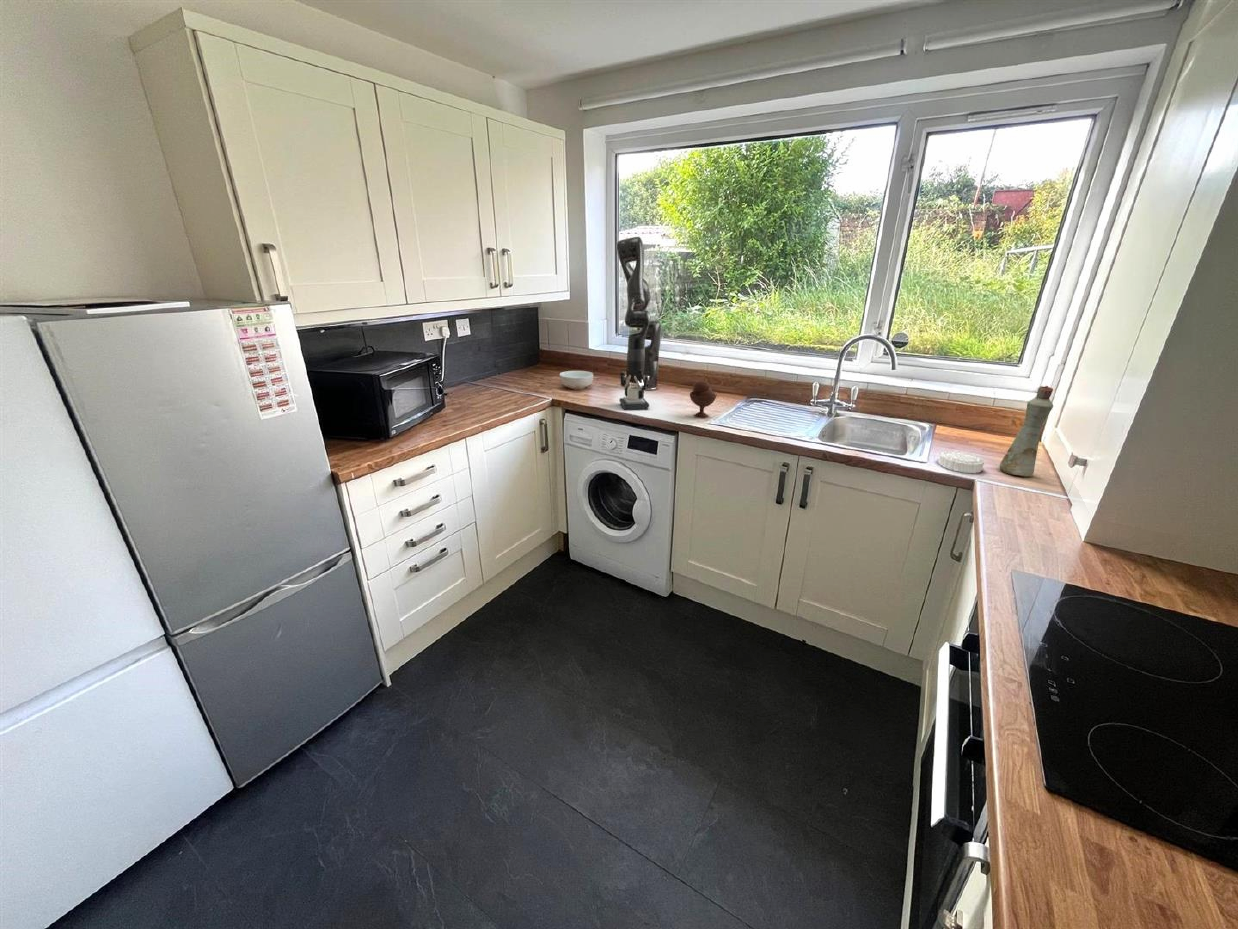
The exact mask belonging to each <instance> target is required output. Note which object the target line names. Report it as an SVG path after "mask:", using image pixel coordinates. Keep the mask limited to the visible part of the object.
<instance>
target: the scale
mask: <svg viewBox="0 0 1238 929" xmlns="http://www.w3.org/2000/svg"><path fill="white" fill-rule="evenodd" d="M643 400H644V401H645V404H626V403H625V401H624V400H623V398H622V397H621V398H620V397H619V403H620V405H621V407H622V408H623V409H624V410H625V411H639V410H640V411H641V410H642V411H643V410H644V411H645V410H648V409H649V408H650V403H649V402H648V401H647V400H646V399H645V398H644V397H643Z"/></svg>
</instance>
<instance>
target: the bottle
mask: <svg viewBox="0 0 1238 929" xmlns="http://www.w3.org/2000/svg"><path fill="white" fill-rule="evenodd" d="M1053 391H1054V388H1053V387H1050V386H1048V385H1045V386H1039V387H1038V389H1037V392H1036V394H1035V397H1033V398H1032V399H1030V400H1028V401H1027V402H1026V410H1025V416H1024V423H1023V424H1022V427H1021V428H1020V429H1019V431H1018V433H1017V435H1016V436H1015V438H1014V439H1013V441H1012V443H1011V445H1010V446H1009V448H1008V449H1007V451H1006V453H1005V454H1004V456H1003V458H1002V460H1001V461H1000V463H999V466H998V467H999V469H1000V471H1001V472H1002V473H1004V474H1009V475H1012V476H1013V475H1014V476H1021V477H1026V478H1028V477H1029V478H1030V477H1031V476H1033V474H1034V472H1035V467H1036V460H1037V456H1038V455H1037V454H1038V450H1039V445H1040V437H1041V430H1042V427H1043V425H1044V422H1046V420H1047V418H1048V416H1049V415H1050V413H1051V411H1052V410H1053V408H1054V404H1053V403H1052V401H1051V399H1050V398H1051V397H1052V394H1053Z"/></svg>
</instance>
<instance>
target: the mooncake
mask: <svg viewBox="0 0 1238 929" xmlns="http://www.w3.org/2000/svg"><path fill="white" fill-rule="evenodd" d="M937 464H939V465H940V466H941V467H943V468H945V469H947V470H950V471H955V472H959V473H964V474H965V473H966V474H976V473H977V474H978V473H980V472H982V470H983V468H984V465H985V461H984V460H983V459H982V458H981V457H979V456H978V455H974V454H972V453H966V452H964V451H963V452H962V451H956V450H950V451H948V450H947V451H942V452H941V453H939V457H938V461H937Z"/></svg>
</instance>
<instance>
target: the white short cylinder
mask: <svg viewBox="0 0 1238 929" xmlns="http://www.w3.org/2000/svg"><path fill="white" fill-rule="evenodd" d="M639 391H640V390H639V387H638V386H637V385H636V386H635V385H630V387H627V398H628V399H629V400H633V401H637V400H640V399H639Z"/></svg>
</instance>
